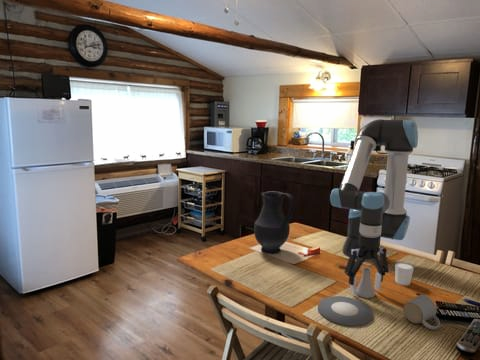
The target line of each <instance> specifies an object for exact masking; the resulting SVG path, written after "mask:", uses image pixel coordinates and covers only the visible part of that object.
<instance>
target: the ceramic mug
mask: <svg viewBox="0 0 480 360" xmlns="http://www.w3.org/2000/svg"><path fill="white" fill-rule="evenodd" d="M402 312H403V314H404V317H405V318H406V319H407V320H408V321H409V322H410V323H412V324H416V325H417V324H422V325H423V326H424V327H426V328H427V329H430V330H433V331H435V330H438V329H439V328H440V326H441V321H440V319H439V317H438V316H436V314H437V307H436V304H435V302H434V301H433V299H431V297H429V296H428V295H425V294H419V295H417V296H415V297H413V298H412V299H410V300H409V301H407V302H406V303H405V304H404V305H403V310H402ZM431 319H433V320H434V322H435V323H436V325H435V326H434V325H431V324H430V323H429V322H427V321H428V320H431Z"/></svg>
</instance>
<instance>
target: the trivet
mask: <svg viewBox="0 0 480 360" xmlns="http://www.w3.org/2000/svg"><path fill="white" fill-rule="evenodd" d="M317 311H318V313H319V315H320V316H322V317H323V318H324V319H326V320H327V321H329V322H331V323H333V324H337V325H341V326H345V327H359V326H363V325H367V324H368V323H370V322H371V321H372V319H373V311H372V309H371V308H370V307H369V306H368V305H367V304H366V303H364V301H360V300H358V299H356V298H352V297H348V296H344V295H343V296H342V295H331V296H327V297H325V298H322V299H321V300H319V302H318V304H317Z"/></svg>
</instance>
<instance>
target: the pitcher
mask: <svg viewBox="0 0 480 360" xmlns="http://www.w3.org/2000/svg"><path fill="white" fill-rule="evenodd" d="M260 195H261V198H262V203H263V205H262V207H261V210H260V213H259V215H258V217H257V219H256V220H255V221H254V227H253V231H254V232H253V233H254V238H255V239H256V242H257V243H258V245H260V247H261V248H260V251H261V252H262V253H264V254H267V255H268V254H269V255H276V254H279V253H281V251H282V250H281V247H282V246H283V245H284V244H285V243H286V242H287V240H288V238H289V236H290V228H291V227H290V223H289V222H290V220H291V218H292V215H293V213H294V211H295V207H296V206H295V205H296V204H295V203H296V202H295V198H294V197H293V195H292V194H290V193H287V192H281V191H277V190H275V191H274V190H272V191H271V190H270V191H266V192H265V191H264V192H260ZM286 197H287V198H288V199H289V209H288V212H287V213H286V215H284V211H283V202H284V199H285V198H286Z"/></svg>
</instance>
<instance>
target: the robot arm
mask: <svg viewBox="0 0 480 360" xmlns="http://www.w3.org/2000/svg"><path fill="white" fill-rule="evenodd" d="M418 130H419V129H418V125H417V123H416V122H415V121H414V120H408V119H383V118H381V119H379V118H378V119H374V120H372V121H370V122H368V123H366V124H365V125H364V126H362V128H361V129H360V130H359V131H358V133H357V134H356V136H355V138H354V142H353V143H354V144H353V145H354V147H353V150H352V154H351V156H350V158H349V161H348V165H347V167H346V170H345V173H344V175H343V177H342V180H341V183H340V186H339V187H338V188H333V189H332V190H331V193H330V195H329V200H330V201H329V202H330V205H331V206H332V207H336V208H340V209H346V210H347V209H348V210H349V212H348V221H347V222H348V224H347V236H346V239H345V241H344V243H343V246H342V253H343V254H344V256H347V257H349V258H348V260H347V263H346V267H345V270H344V274H345V275H346V276H348V284H349V292H351V294H353V295H356V289H357V280H358V279H357V278H358V277H357V276H356V275H357V274H358V272H359V270H360V268H361V266H362V265H363V263H365V262H366V261H368V260H372V261H373V264H374V266H375V268H376V270H377V272H375V278H374V287H373V289H375V290H376V291H377V292H378V293H379V292H381V289H382V283H383V281H384V276H386V274H388V273H389V272H390V271H389V265H388V258H387V252H388V251H387V250H388V249H387V248H385V247H384V246H382V245H381V238H385V239H390V240H395V241H396V240H397V241H402V240H404V238H405V237H406V235H407V232H408V229H409V225H410V219H411V217H410V215H408V213H407V212H408V211H407V209H405V206H404V205H405V195H406V185H407V176H408V175H407V174H408V163H409V155H410V154H412V153H413V152H414V149H416V148H418V141H419V133H418V132H419V131H418ZM377 146H381V147H384V152H386V154H387V159H386V168H385V169H386V170H385V172H386V173H385V180H384V181H385V182H384V192H382V191H379V192H376V191H367V192H366V191H360V188H361V185H362V182H363V179H364V176H365V173H366V170H367V167H368V164H369V161H370V159H371V155H372V153H373V151H374V150H375V149H376V148H377ZM378 253H379V254H378ZM378 255H379V257H378ZM379 258H380V259H379Z"/></svg>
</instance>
